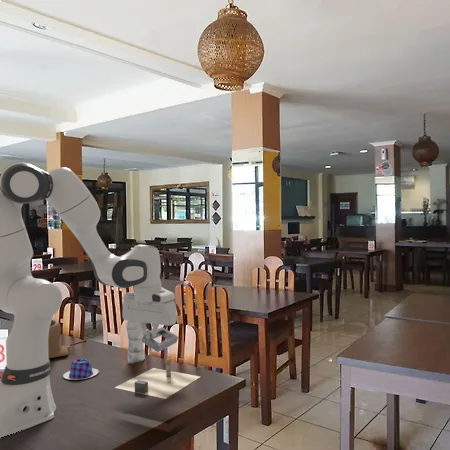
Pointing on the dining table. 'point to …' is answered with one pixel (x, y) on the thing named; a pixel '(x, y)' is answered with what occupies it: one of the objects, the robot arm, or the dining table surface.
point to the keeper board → (158, 382)
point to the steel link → (160, 346)
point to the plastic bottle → (135, 342)
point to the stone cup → (56, 341)
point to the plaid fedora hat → (80, 370)
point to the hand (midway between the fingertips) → (149, 335)
